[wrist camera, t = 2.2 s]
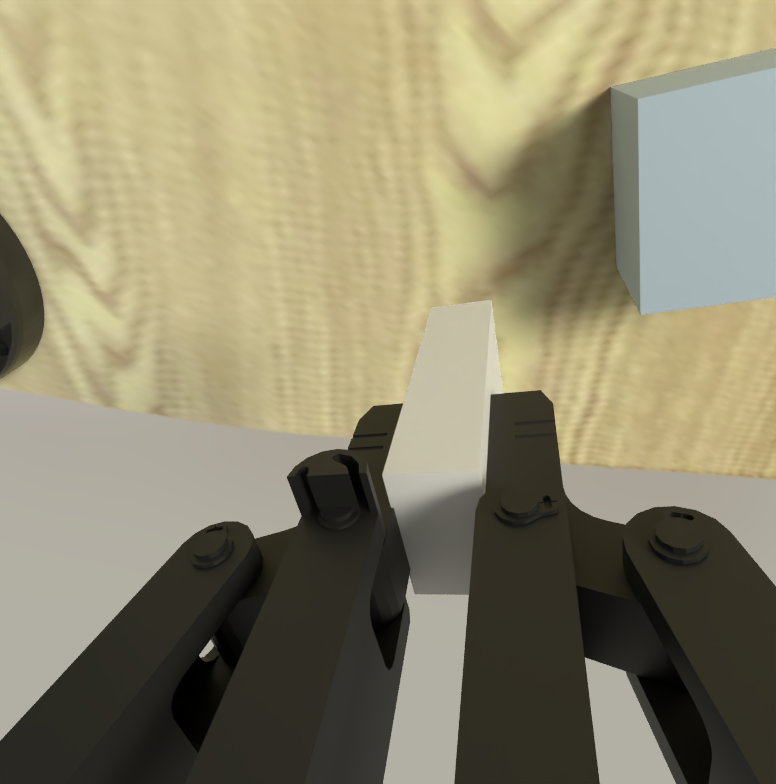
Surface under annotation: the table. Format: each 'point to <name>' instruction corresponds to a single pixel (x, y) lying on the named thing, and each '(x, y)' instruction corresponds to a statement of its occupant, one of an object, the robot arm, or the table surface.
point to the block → (697, 184)
